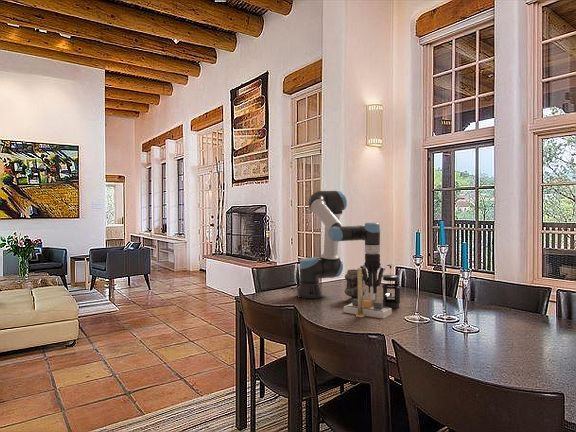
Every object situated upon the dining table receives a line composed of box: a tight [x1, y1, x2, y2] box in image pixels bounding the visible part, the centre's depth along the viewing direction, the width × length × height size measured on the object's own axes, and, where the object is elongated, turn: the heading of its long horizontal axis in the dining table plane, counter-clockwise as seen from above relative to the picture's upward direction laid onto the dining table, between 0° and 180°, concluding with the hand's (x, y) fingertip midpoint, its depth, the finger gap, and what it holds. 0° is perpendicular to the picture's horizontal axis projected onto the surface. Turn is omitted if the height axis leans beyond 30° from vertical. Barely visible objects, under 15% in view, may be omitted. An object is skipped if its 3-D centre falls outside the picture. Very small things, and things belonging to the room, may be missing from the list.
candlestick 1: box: [355, 267, 366, 319], centre depth 208 cm, size 4×4×24 cm
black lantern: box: [381, 264, 401, 310], centre depth 226 cm, size 12×9×23 cm
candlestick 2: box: [371, 273, 377, 305], centre depth 220 cm, size 4×4×24 cm
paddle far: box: [374, 301, 383, 309], centre depth 211 cm, size 4×2×3 cm, turn 53°
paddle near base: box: [352, 299, 358, 306], centre depth 218 cm, size 4×2×3 cm, turn 53°
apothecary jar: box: [343, 268, 366, 304], centre depth 242 cm, size 12×12×18 cm
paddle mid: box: [363, 299, 372, 308], centre depth 214 cm, size 4×2×3 cm, turn 53°
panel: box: [343, 302, 393, 319], centre depth 214 cm, size 22×10×3 cm, turn 53°
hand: (372, 299), depth 212 cm, fingers closed
